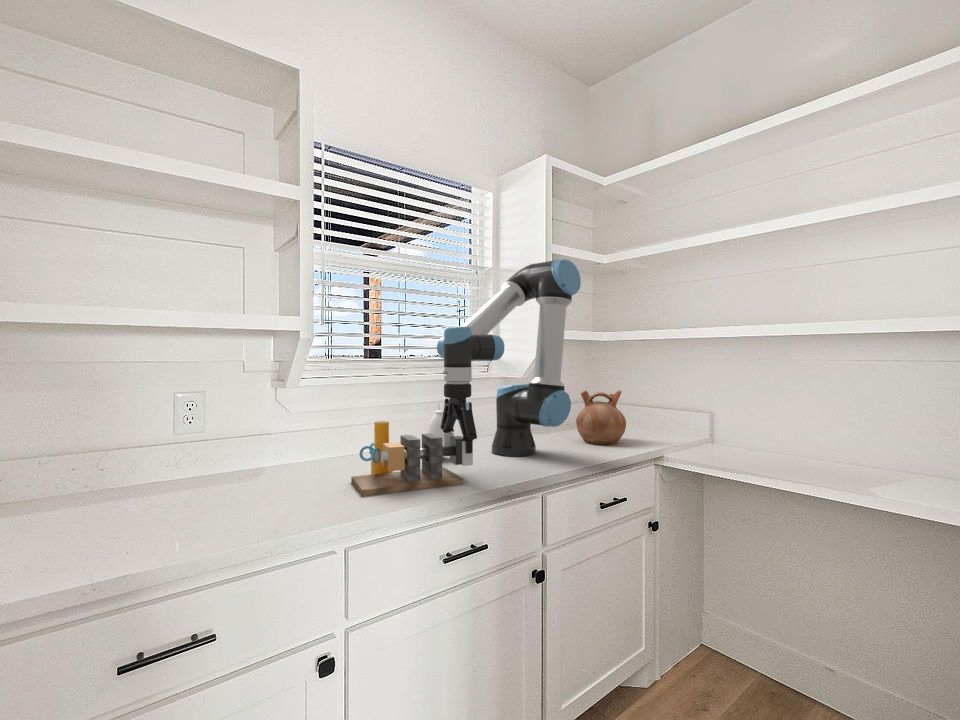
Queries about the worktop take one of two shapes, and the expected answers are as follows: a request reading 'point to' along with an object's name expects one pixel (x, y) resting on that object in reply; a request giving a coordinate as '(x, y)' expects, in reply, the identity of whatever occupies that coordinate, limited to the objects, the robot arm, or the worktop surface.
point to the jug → (601, 420)
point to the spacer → (394, 456)
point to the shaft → (451, 451)
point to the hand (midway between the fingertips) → (457, 460)
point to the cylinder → (377, 447)
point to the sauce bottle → (437, 425)
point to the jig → (411, 470)
